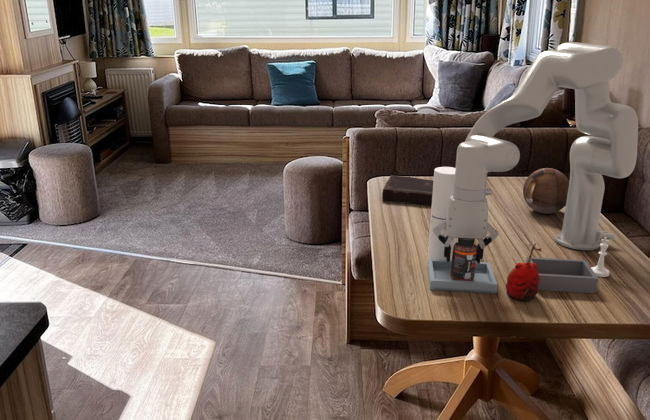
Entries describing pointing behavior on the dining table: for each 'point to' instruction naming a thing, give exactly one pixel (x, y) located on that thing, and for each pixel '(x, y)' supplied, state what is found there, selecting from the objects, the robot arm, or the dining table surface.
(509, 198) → the dining table surface
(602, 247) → the chess piece
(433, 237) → the cylindrical container
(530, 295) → the red clay folk toy
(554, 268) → the dock
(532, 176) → the reflective sphere
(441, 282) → the tray
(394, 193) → the diary
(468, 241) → the supplement bottle
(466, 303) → the dining table surface
